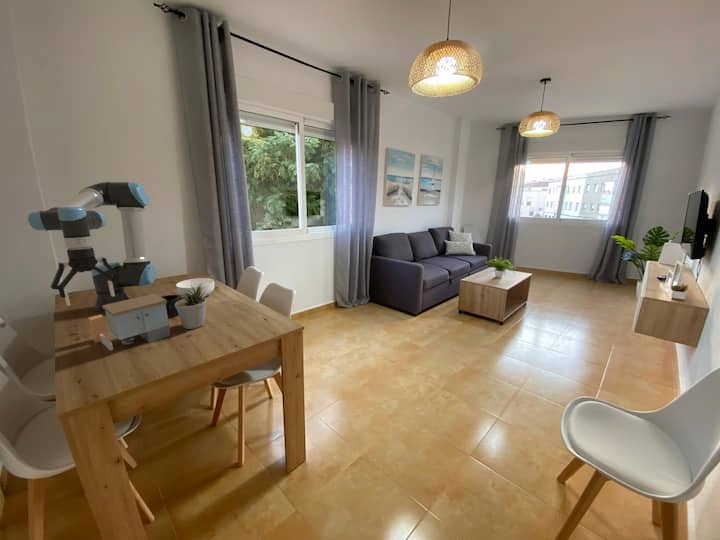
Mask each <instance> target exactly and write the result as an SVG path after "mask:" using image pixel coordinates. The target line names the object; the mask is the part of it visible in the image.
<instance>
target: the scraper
mask: <svg viewBox="0 0 720 540" xmlns="http://www.w3.org/2000/svg"><path fill="white" fill-rule="evenodd" d="M87 319H88V323H89V327H90V331H91V334H92V340H93V341H94V342H95V344H96V343H99V342H100V343H102V344H103V345H104V346H105V347H106V348H107V349H108V350H109V351H113V350H114V346H113V343H112V341H111V340H110V339H109V337H108V331H107V326H106V322H105V318H104V315H102V314H98V315H93V316H89V317H87Z"/></svg>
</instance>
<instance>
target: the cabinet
mask: <svg viewBox="0 0 720 540" xmlns="http://www.w3.org/2000/svg"><path fill="white" fill-rule="evenodd" d="M165 303H167V300H166V299H164V298H162V296H159V294H156V293H152V294H146V295H143V296H139V297H138V296H137V297H133V298H130V299H129V300H124V301H120V302H115V303H111V304H106V305H102V307H103V309H104V310H105V311H104V312H105V316H106V320H107V324H108V329H109V332H110V333H111V334H112V335H113V336H114V337H115V338H117V339H118V340H119V341H122V340H124V339H128V338H133V337H134V336H137V335H138V336H140V337H141V338H142V339H144V340H145V341H146V342H148V343H149V344H150V343H153V342H156V341H160V340H162V339H165V338H168V337H171V329H170V322H169V318H168V316H167V310H166V304H165Z"/></svg>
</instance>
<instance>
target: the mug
mask: <svg viewBox="0 0 720 540" xmlns="http://www.w3.org/2000/svg"><path fill="white" fill-rule="evenodd" d="M179 296H180V295H178V294H168V295H167V294H166V295H163V296H161V297H162V298H164V299H166V300H167V303H165V304H166V310H167V316H168V319H173V318H176V317H179V314H178V311H177V309H176V307H175V303H176V302H178V301H180V297H179Z"/></svg>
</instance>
